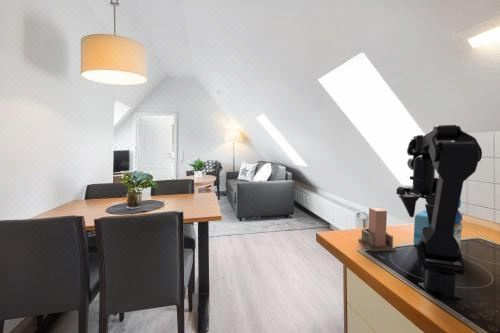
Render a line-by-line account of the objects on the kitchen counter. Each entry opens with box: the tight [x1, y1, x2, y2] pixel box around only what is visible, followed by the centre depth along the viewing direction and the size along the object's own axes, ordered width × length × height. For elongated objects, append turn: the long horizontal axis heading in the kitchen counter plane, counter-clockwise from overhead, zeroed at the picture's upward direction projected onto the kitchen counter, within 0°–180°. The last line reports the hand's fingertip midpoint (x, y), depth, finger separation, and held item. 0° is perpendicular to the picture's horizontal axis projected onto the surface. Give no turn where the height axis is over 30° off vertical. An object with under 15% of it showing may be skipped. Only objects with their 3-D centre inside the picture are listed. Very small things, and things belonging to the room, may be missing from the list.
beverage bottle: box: [453, 198, 463, 248], centre depth 86 cm, size 8×8×20 cm
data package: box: [413, 209, 430, 246], centre depth 95 cm, size 12×4×12 cm, turn 127°
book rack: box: [358, 227, 397, 252], centre depth 94 cm, size 10×9×5 cm
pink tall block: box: [368, 207, 388, 246], centre depth 94 cm, size 5×4×13 cm
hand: (421, 221), depth 81 cm, fingers open, 9 cm apart
